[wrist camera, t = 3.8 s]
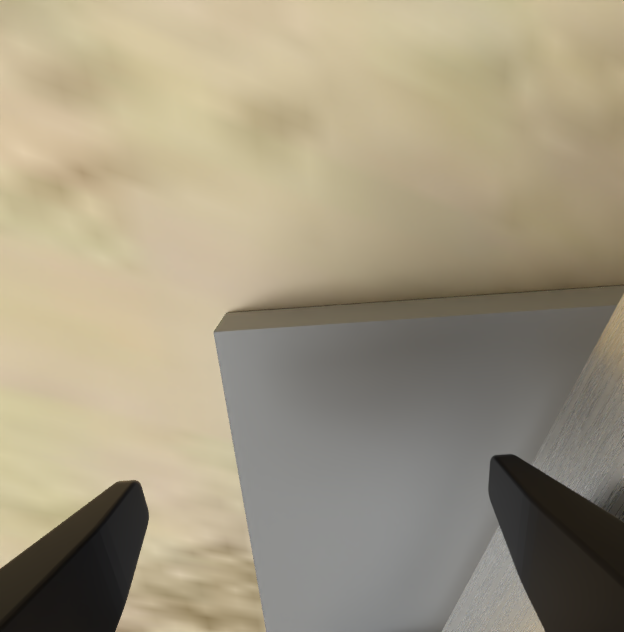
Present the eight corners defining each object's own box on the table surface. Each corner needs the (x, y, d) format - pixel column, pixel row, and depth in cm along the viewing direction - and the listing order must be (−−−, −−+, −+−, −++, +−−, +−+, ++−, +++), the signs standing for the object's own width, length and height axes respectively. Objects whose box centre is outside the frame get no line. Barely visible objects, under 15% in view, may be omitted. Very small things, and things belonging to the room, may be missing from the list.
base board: (659, 682, 17) (689, 728, 16) (287, 691, 18) (284, 736, 17) (798, 272, 11) (867, 288, 10) (226, 312, 12) (213, 332, 10)
